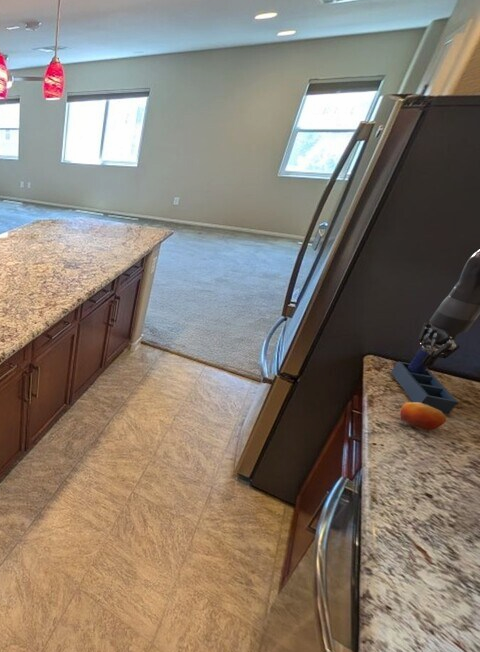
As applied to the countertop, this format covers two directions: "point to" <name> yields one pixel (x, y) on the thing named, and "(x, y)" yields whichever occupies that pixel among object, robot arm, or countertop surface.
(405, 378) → the rack
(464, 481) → the countertop surface
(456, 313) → the robot arm
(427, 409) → the fruit
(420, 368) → the thermos
